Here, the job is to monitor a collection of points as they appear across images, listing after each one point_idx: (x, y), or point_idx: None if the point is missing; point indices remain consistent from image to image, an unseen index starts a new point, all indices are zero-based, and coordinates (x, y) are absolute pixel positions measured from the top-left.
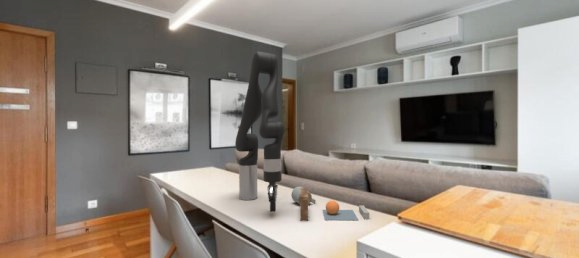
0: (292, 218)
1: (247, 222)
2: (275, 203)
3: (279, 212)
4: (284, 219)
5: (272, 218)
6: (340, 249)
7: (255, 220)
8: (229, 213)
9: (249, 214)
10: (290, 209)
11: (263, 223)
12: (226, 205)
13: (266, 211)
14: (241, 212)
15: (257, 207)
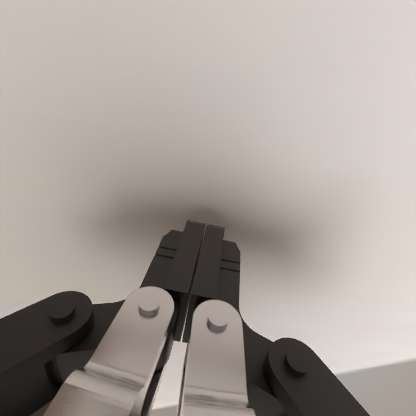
0: (404, 17)
1: (335, 366)
2: (189, 278)
3: (144, 157)
4: (392, 131)
5: (311, 235)
6: None
7: (314, 333)
8: (157, 402)
9: (182, 344)
10: (20, 2)
11: (406, 303)
12: None
13: (117, 255)
14: None
15: (29, 294)
